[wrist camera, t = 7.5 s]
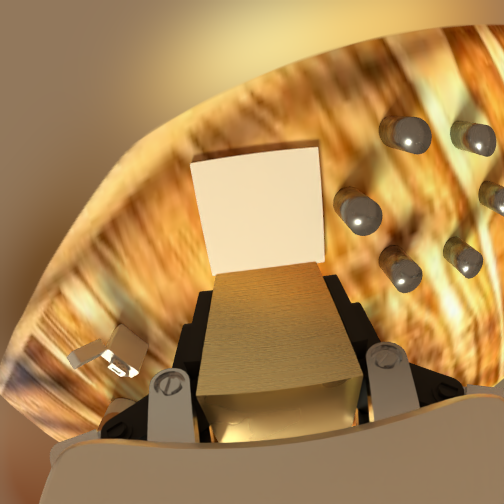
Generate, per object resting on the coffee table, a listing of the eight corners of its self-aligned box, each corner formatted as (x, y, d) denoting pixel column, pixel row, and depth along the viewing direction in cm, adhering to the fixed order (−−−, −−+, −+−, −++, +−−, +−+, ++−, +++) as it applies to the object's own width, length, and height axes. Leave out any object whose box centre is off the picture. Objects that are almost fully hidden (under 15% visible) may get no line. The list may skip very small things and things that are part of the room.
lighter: (149, 345, 31) (130, 399, 23) (141, 351, 31) (121, 404, 24) (101, 305, 28) (69, 355, 21) (94, 313, 29) (63, 362, 22)
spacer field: (496, 126, 20) (521, 131, 16) (485, 253, 26) (505, 269, 22) (326, 116, 21) (341, 116, 17) (334, 279, 27) (346, 303, 23)
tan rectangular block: (315, 261, 12) (363, 374, 6) (317, 336, 13) (346, 445, 8) (216, 274, 12) (195, 395, 6) (233, 346, 13) (228, 459, 8)
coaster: (316, 146, 22) (318, 147, 21) (323, 258, 26) (324, 261, 26) (191, 162, 22) (189, 163, 22) (213, 272, 27) (212, 275, 26)
